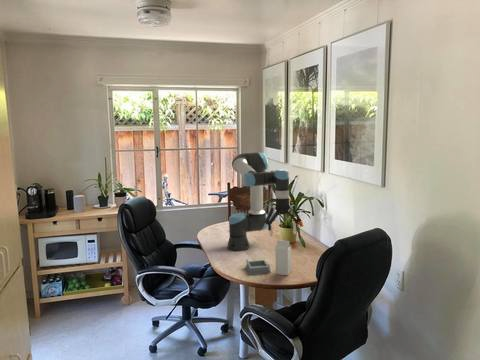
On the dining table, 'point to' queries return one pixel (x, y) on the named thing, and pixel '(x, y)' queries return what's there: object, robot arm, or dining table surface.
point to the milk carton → (283, 257)
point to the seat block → (257, 267)
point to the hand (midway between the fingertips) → (283, 234)
